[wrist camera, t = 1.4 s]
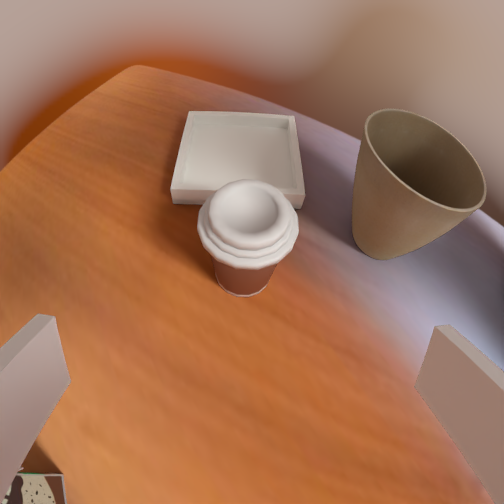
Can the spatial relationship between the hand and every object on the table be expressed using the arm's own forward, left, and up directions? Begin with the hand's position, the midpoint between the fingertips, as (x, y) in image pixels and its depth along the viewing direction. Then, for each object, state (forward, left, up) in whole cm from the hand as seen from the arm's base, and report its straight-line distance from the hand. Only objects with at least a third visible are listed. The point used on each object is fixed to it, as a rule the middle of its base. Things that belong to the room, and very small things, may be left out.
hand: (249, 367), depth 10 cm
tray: (0, -33, -23) cm, 40 cm away
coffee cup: (-1, -15, -23) cm, 28 cm away
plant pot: (-19, -21, -23) cm, 36 cm away
